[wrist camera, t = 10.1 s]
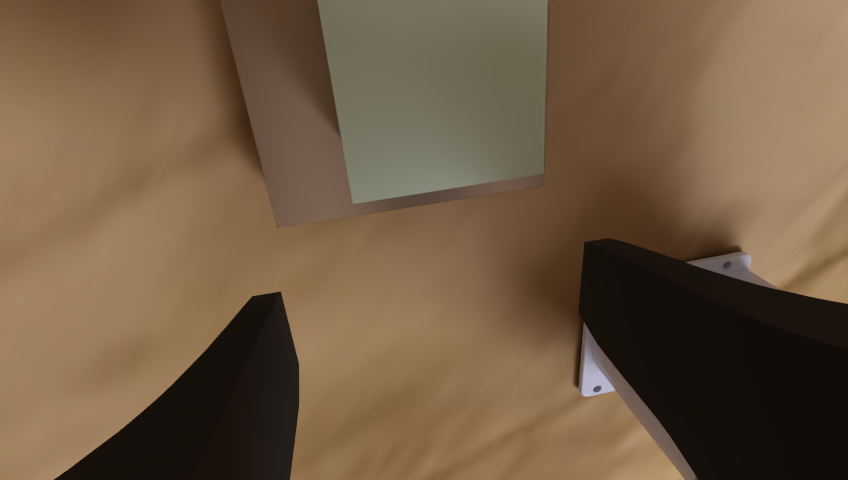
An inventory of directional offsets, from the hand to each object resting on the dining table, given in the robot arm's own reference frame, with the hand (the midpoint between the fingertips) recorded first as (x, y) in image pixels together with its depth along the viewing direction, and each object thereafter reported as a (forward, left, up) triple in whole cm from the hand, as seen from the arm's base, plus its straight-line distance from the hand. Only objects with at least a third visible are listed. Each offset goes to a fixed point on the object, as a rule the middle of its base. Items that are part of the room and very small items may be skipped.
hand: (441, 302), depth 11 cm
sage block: (-1, -5, -7) cm, 8 cm away
